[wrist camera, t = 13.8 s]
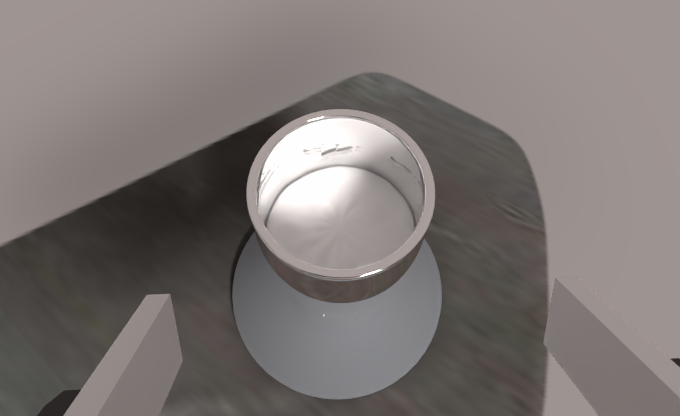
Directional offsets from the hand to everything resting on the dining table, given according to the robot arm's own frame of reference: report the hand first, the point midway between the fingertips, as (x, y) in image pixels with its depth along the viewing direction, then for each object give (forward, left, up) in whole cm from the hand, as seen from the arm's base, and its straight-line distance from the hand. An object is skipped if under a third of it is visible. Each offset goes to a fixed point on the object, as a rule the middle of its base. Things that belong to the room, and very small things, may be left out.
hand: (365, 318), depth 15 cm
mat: (-1, +4, -14) cm, 15 cm away
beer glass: (-1, +4, -13) cm, 14 cm away
